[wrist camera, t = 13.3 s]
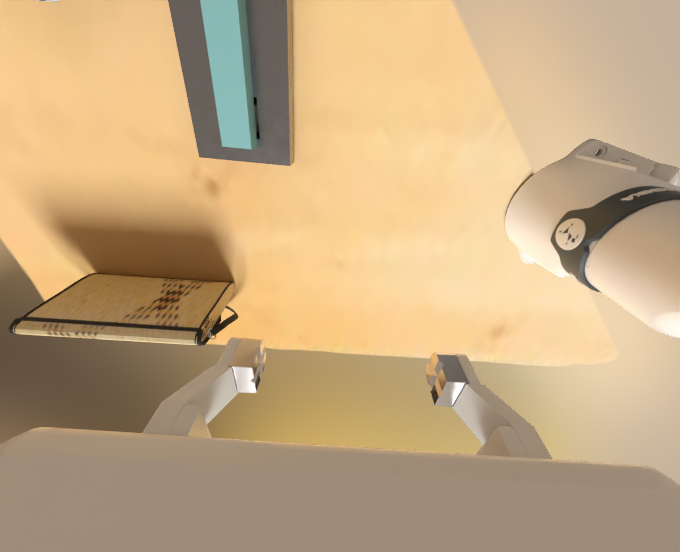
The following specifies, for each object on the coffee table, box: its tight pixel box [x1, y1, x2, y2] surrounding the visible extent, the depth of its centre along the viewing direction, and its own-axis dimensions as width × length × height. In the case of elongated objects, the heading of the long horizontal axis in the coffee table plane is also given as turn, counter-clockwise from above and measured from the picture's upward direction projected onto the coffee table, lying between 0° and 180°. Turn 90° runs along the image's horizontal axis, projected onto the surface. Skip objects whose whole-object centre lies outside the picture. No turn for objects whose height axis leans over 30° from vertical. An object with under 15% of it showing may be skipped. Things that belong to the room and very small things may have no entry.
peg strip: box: [200, 0, 259, 149], centre depth 27 cm, size 4×20×5 cm, turn 175°
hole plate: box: [168, 0, 294, 166], centre depth 29 cm, size 12×24×3 cm, turn 175°
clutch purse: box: [9, 273, 238, 346], centre depth 43 cm, size 30×7×15 cm, turn 86°
